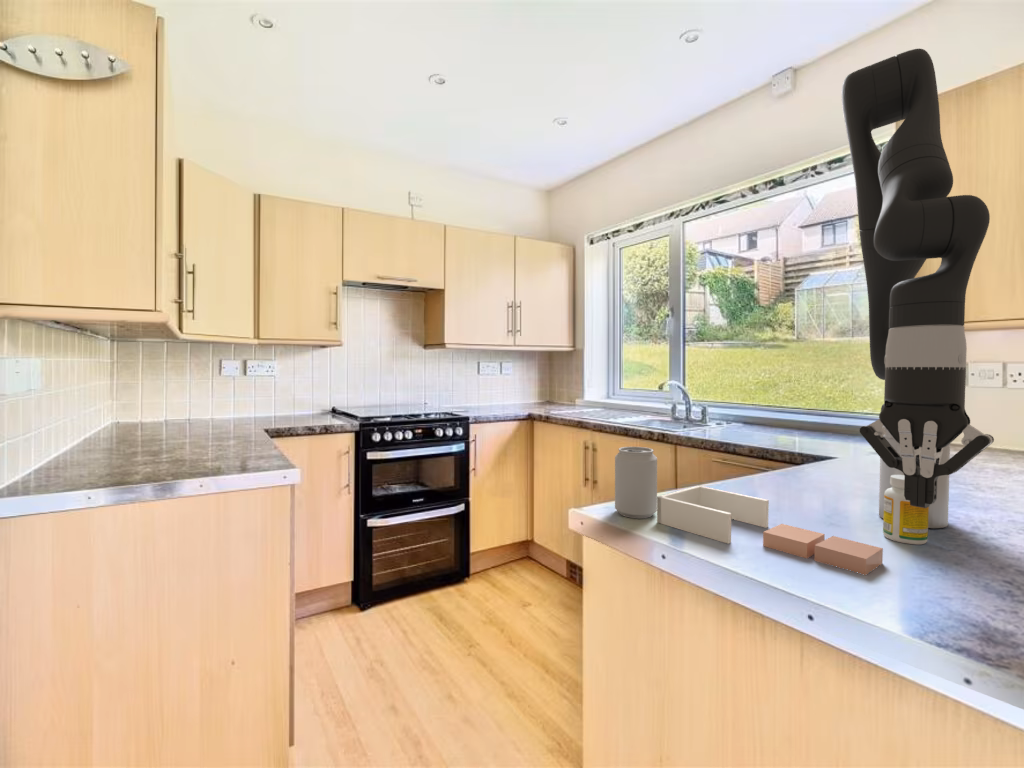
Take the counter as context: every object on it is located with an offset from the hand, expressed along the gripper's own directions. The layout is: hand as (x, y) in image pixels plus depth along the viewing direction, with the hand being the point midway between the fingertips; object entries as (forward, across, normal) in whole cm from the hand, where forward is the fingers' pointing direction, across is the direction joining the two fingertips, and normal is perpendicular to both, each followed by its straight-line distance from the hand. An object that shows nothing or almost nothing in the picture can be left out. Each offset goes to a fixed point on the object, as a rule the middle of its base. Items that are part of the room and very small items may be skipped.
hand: (919, 505), depth 60 cm
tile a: (+10, +15, 0) cm, 18 cm away
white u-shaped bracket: (+10, +28, 0) cm, 29 cm away
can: (+10, +40, +5) cm, 41 cm away
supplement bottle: (+10, +6, -18) cm, 21 cm away
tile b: (+10, +8, 0) cm, 12 cm away
